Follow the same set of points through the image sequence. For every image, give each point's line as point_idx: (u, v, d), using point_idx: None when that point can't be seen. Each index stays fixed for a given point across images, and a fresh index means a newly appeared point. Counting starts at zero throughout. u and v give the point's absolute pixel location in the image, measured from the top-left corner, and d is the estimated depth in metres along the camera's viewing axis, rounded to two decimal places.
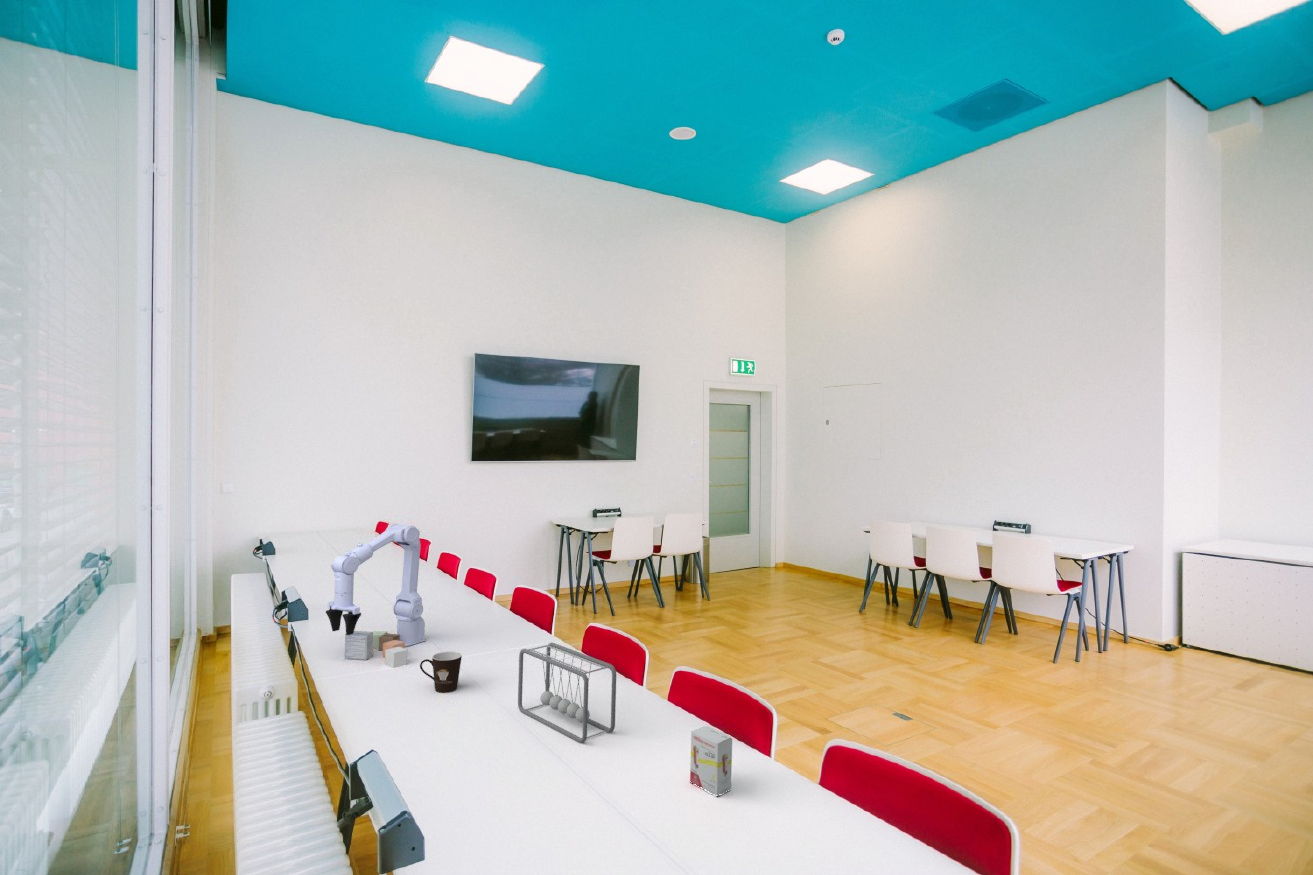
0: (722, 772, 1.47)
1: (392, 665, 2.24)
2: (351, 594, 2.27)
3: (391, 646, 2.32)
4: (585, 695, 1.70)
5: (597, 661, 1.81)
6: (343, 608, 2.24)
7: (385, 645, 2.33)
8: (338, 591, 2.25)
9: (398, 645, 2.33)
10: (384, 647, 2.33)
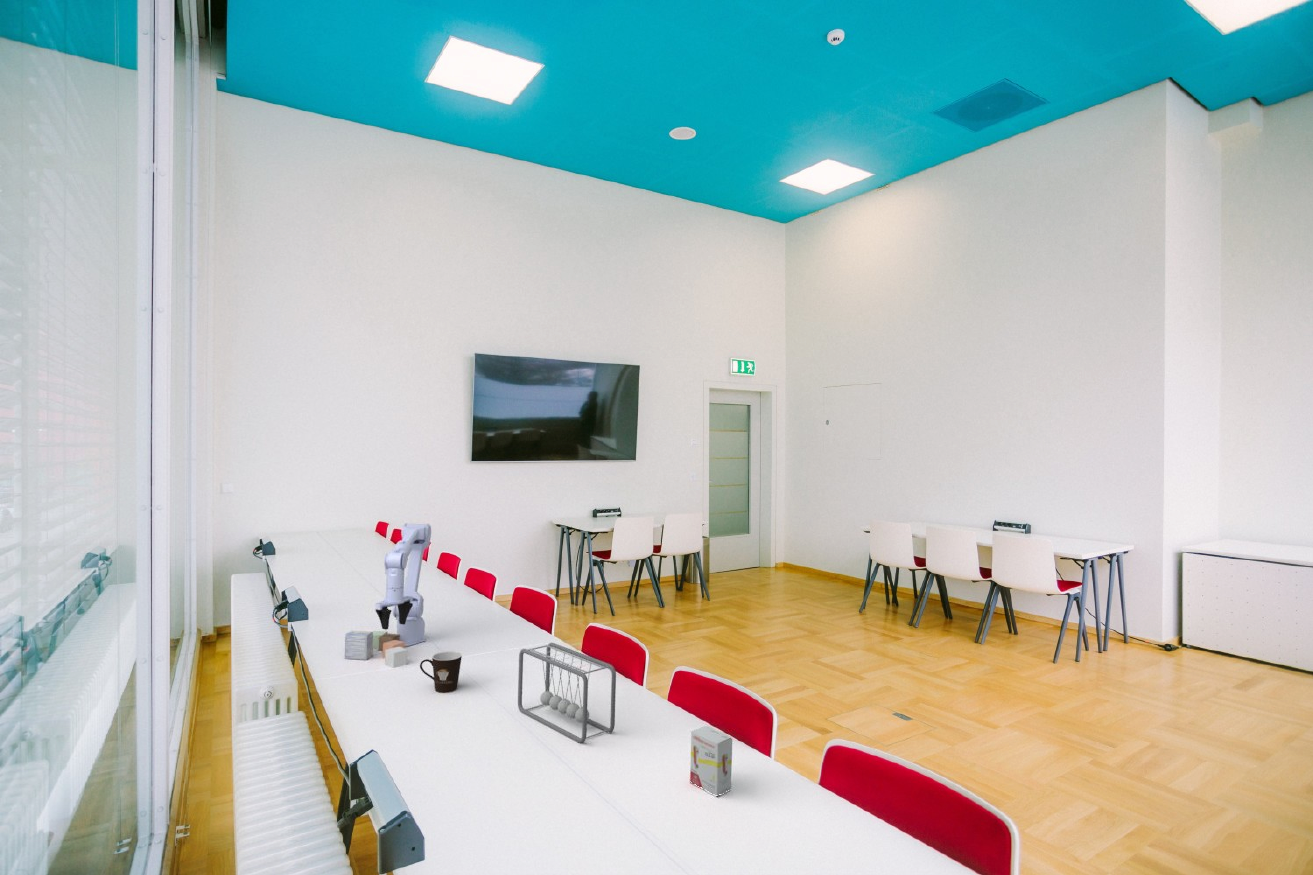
0: (722, 772, 1.47)
1: (392, 665, 2.24)
2: (391, 590, 2.32)
3: (391, 646, 2.32)
4: (584, 695, 1.70)
5: (597, 661, 1.81)
6: None
7: (385, 645, 2.33)
8: (395, 586, 2.32)
9: (398, 645, 2.33)
10: (384, 647, 2.33)
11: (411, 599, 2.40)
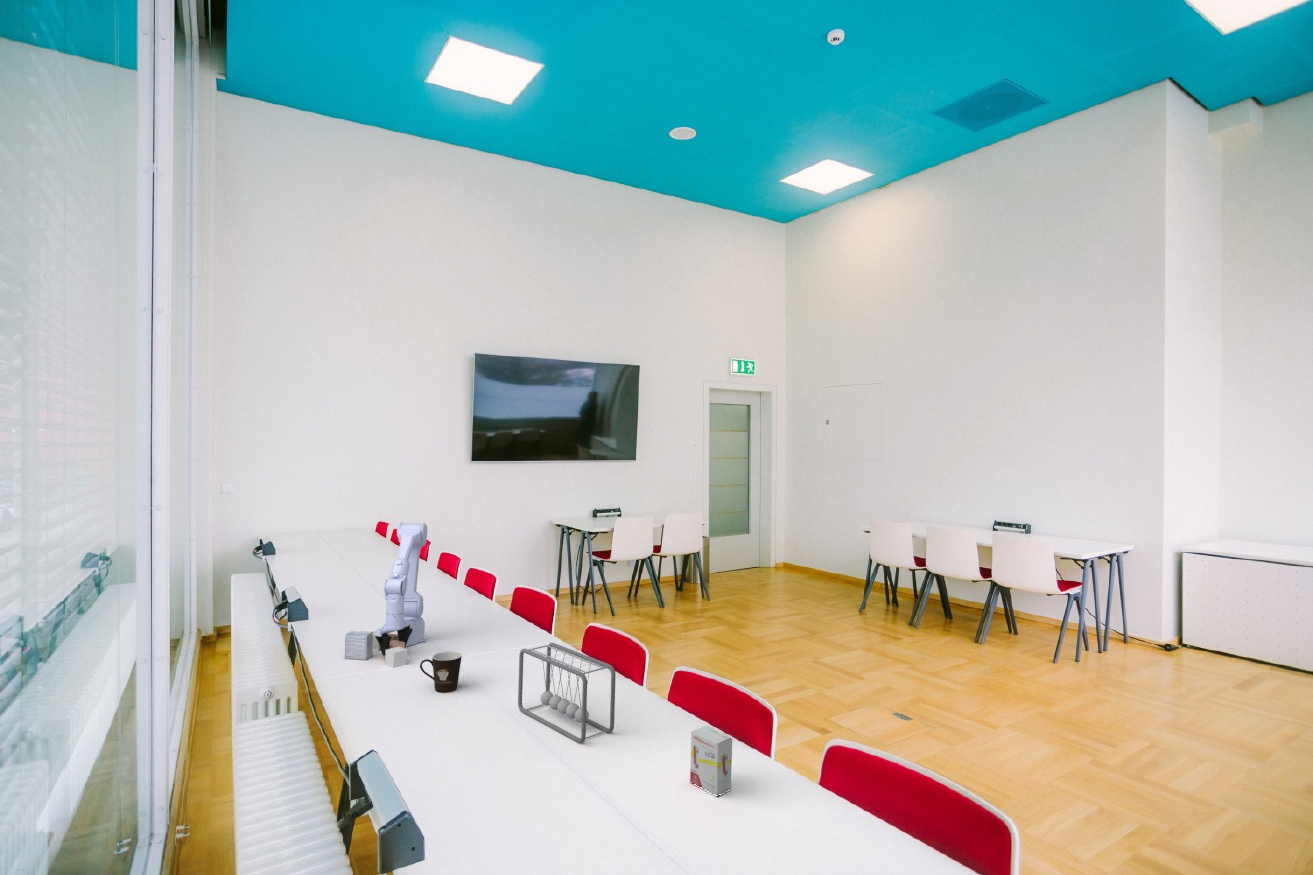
0: (722, 772, 1.47)
1: (392, 665, 2.24)
2: (391, 616, 2.32)
3: (391, 646, 2.32)
4: (584, 695, 1.70)
5: (596, 661, 1.81)
6: None
7: None
8: (395, 612, 2.32)
9: (398, 645, 2.33)
10: None
11: (411, 624, 2.40)
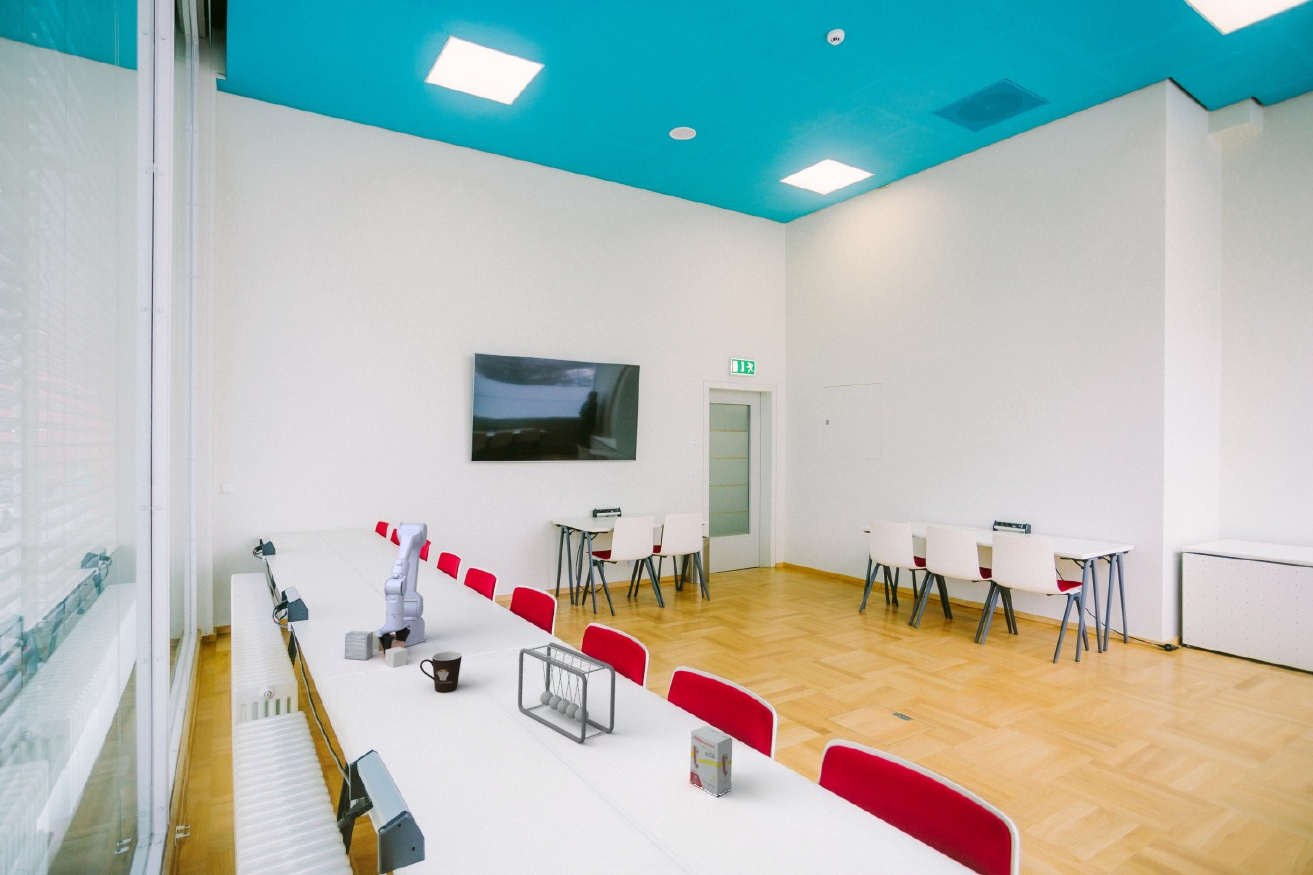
0: (722, 772, 1.47)
1: (392, 665, 2.24)
2: (391, 617, 2.32)
3: (391, 646, 2.32)
4: (584, 695, 1.70)
5: (596, 661, 1.81)
6: None
7: None
8: (395, 613, 2.32)
9: (398, 645, 2.33)
10: None
11: (411, 625, 2.40)
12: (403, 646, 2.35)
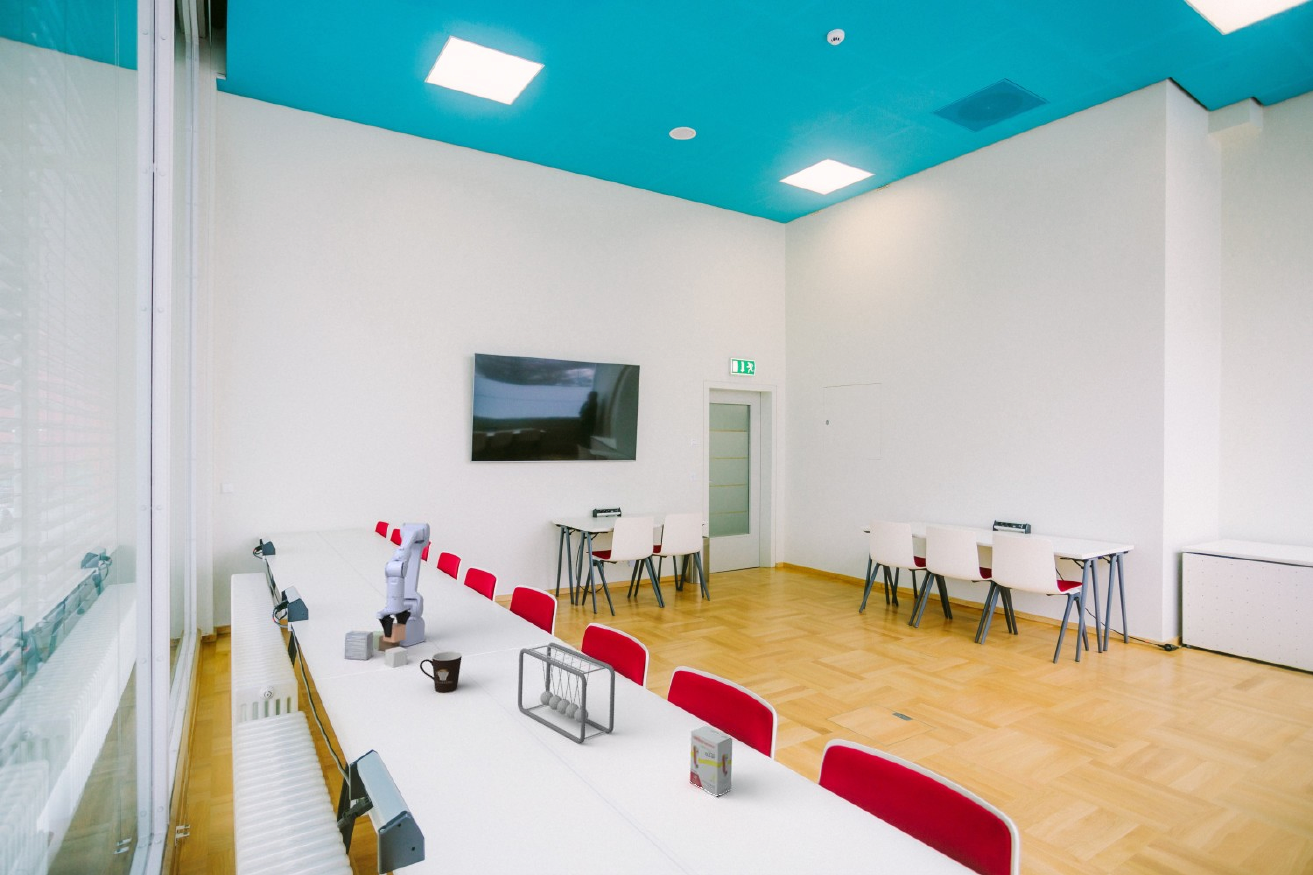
0: (722, 772, 1.47)
1: (392, 665, 2.24)
2: (391, 599, 2.32)
3: (392, 628, 2.32)
4: (583, 695, 1.70)
5: (596, 661, 1.81)
6: None
7: None
8: (395, 595, 2.32)
9: (399, 627, 2.33)
10: None
11: (411, 607, 2.40)
12: (404, 629, 2.35)
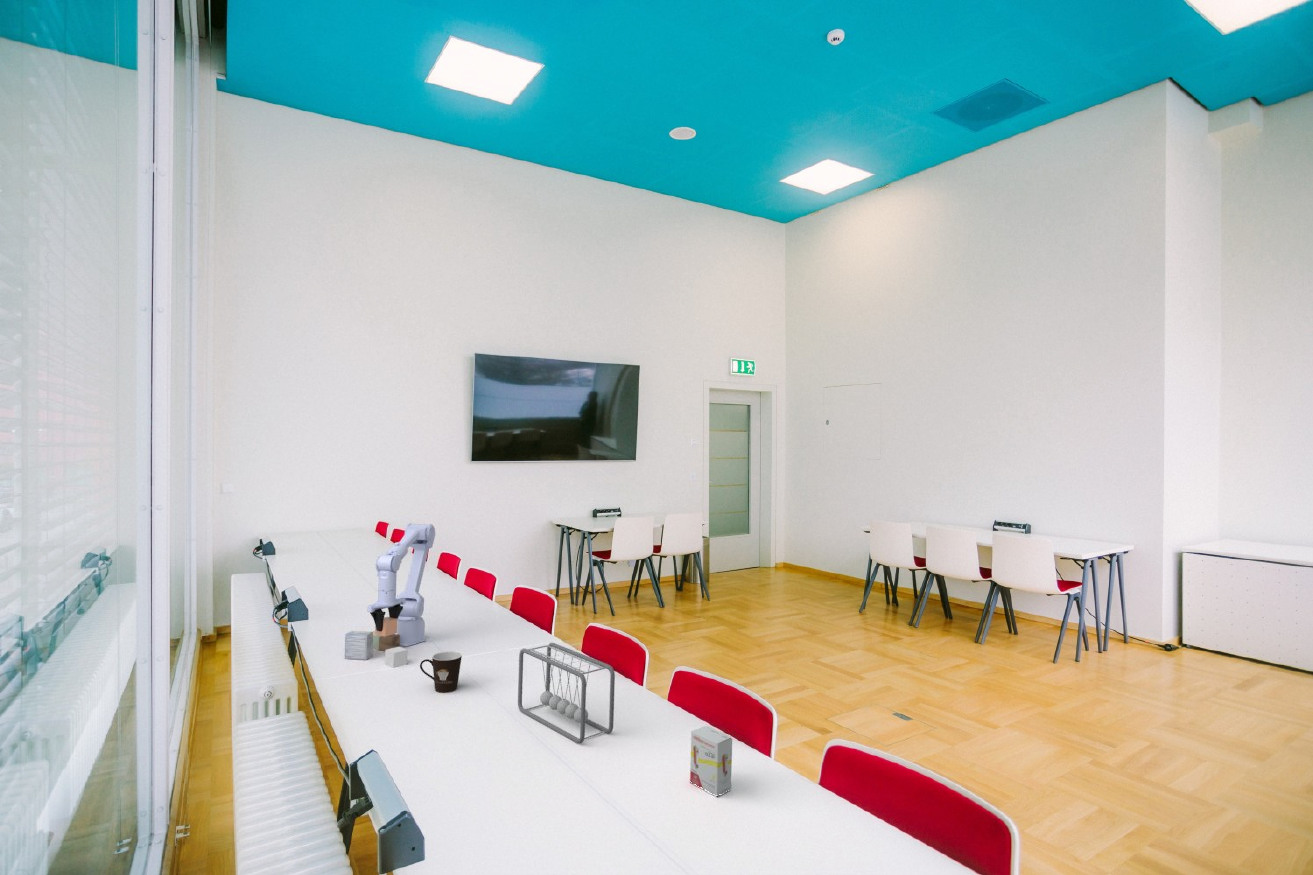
0: (722, 772, 1.47)
1: (392, 665, 2.24)
2: (383, 593, 2.33)
3: (383, 622, 2.32)
4: (583, 696, 1.70)
5: (596, 662, 1.81)
6: None
7: None
8: (385, 589, 2.33)
9: (390, 621, 2.34)
10: None
11: (404, 601, 2.41)
12: (395, 623, 2.36)
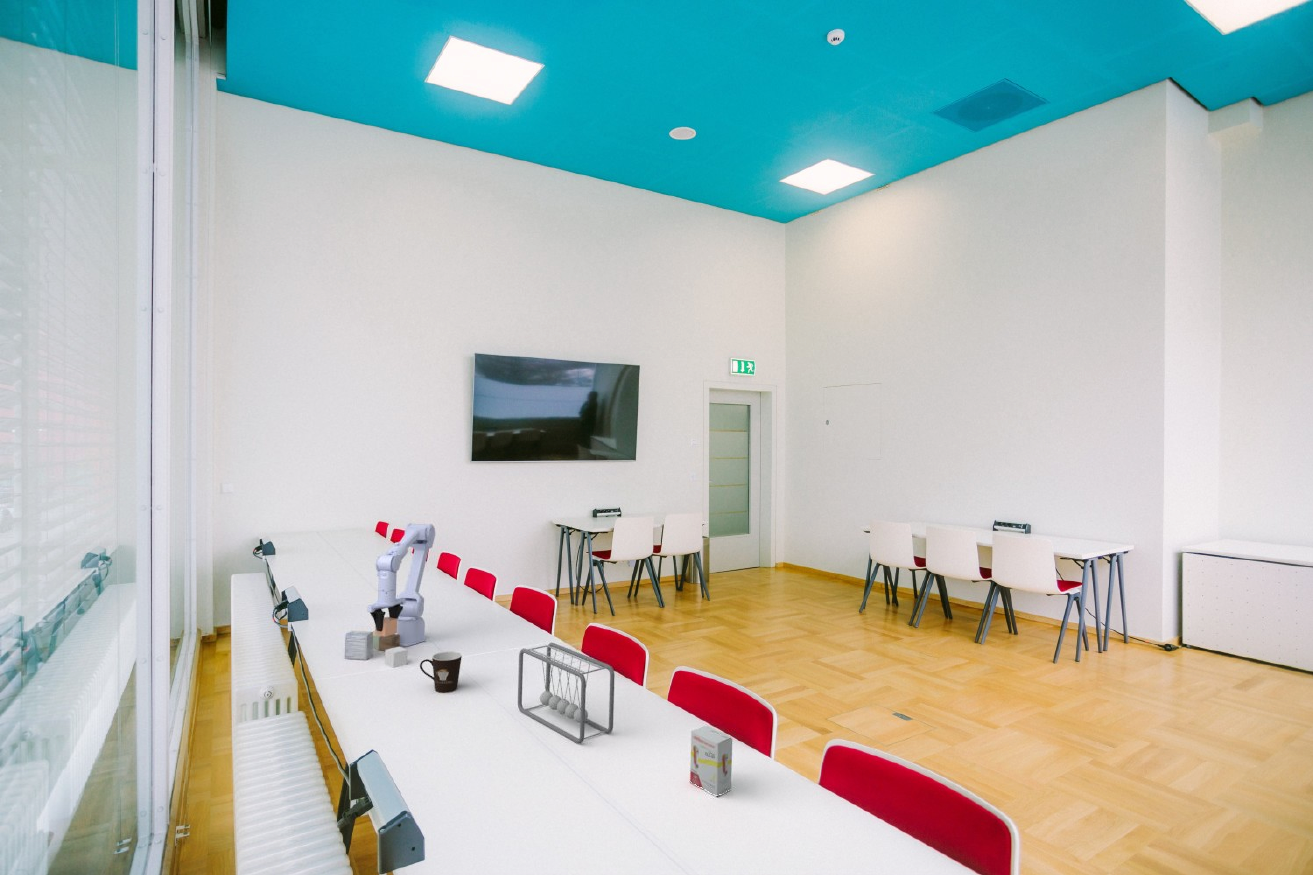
0: (722, 772, 1.47)
1: (392, 665, 2.24)
2: (383, 593, 2.33)
3: (383, 622, 2.32)
4: (582, 696, 1.70)
5: (596, 662, 1.81)
6: None
7: None
8: (385, 589, 2.33)
9: (390, 621, 2.34)
10: None
11: (404, 601, 2.41)
12: (395, 623, 2.36)
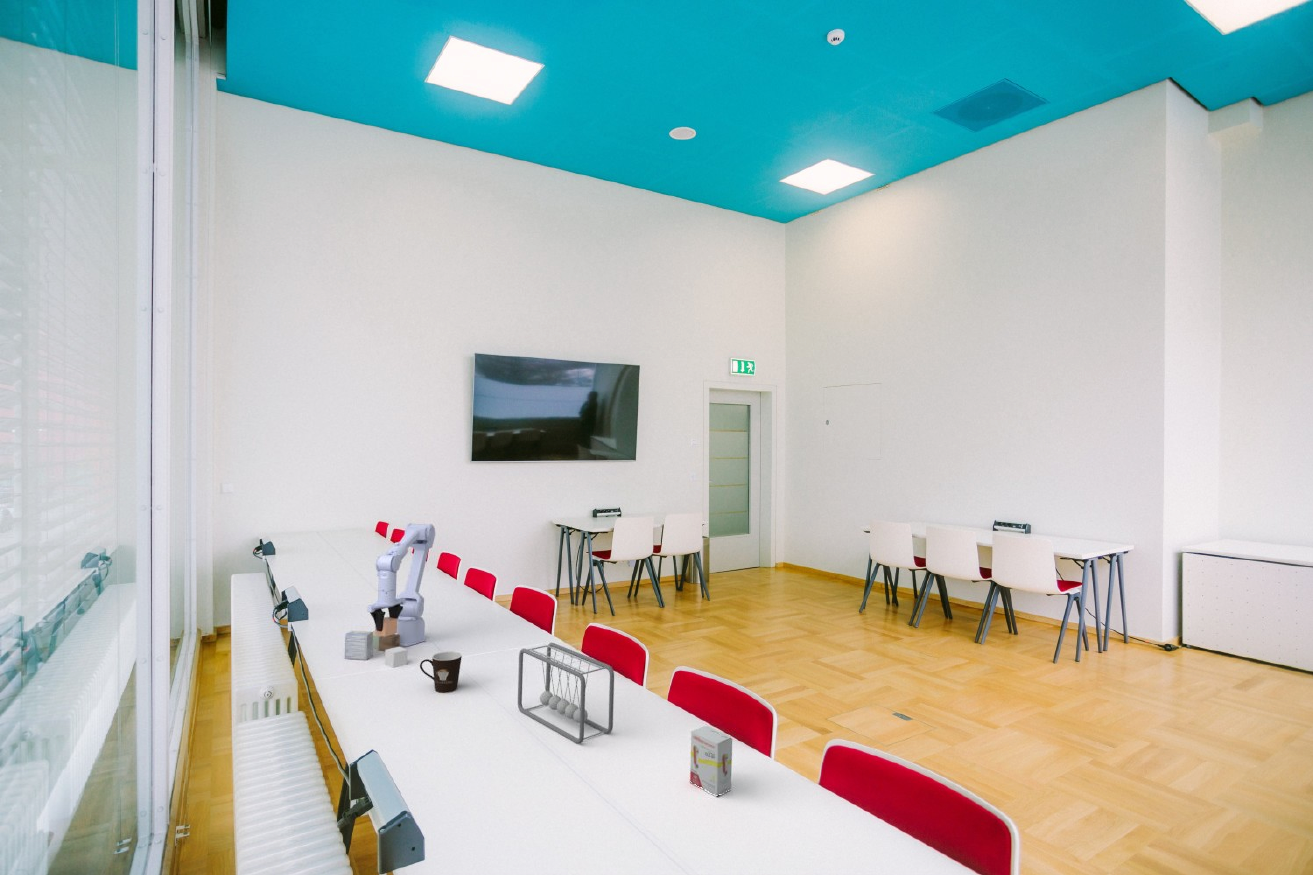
0: (722, 772, 1.47)
1: (392, 665, 2.24)
2: (383, 593, 2.33)
3: (383, 622, 2.32)
4: (582, 696, 1.69)
5: (595, 662, 1.81)
6: None
7: None
8: (385, 589, 2.33)
9: (390, 621, 2.34)
10: None
11: (404, 601, 2.41)
12: (395, 623, 2.36)
